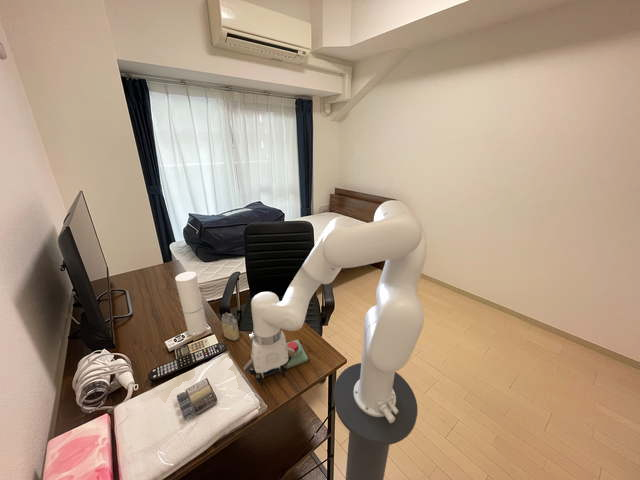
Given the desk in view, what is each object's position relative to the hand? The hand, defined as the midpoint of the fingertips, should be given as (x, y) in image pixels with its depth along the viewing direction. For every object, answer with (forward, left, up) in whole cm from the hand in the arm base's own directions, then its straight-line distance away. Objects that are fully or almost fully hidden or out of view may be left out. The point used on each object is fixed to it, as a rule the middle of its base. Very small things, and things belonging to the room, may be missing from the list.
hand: (271, 377), depth 79 cm
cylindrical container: (+38, +21, -4) cm, 44 cm away
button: (+9, -10, -1) cm, 14 cm away
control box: (+9, -10, -3) cm, 14 cm away
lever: (+5, 0, +3) cm, 6 cm away
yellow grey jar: (+28, +9, -4) cm, 30 cm away
